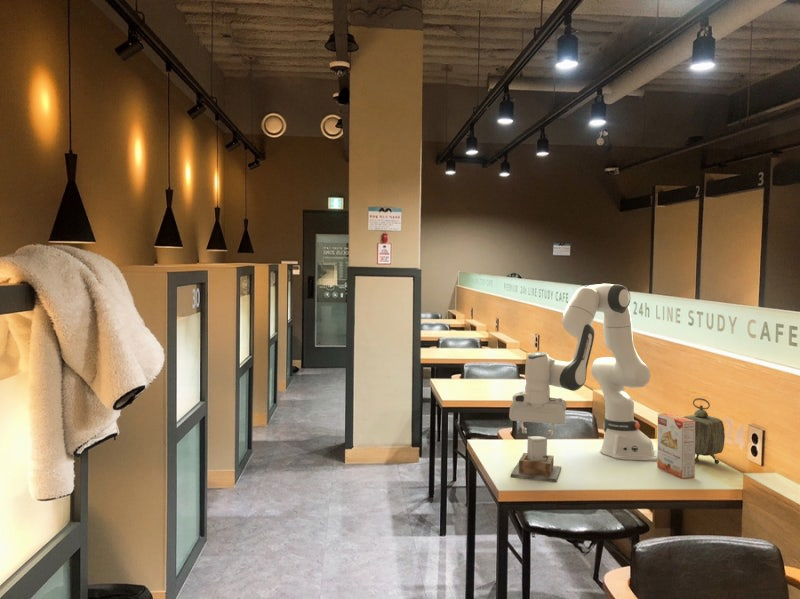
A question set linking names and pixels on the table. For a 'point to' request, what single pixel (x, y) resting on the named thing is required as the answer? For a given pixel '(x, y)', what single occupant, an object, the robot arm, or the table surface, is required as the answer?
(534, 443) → the skincare box
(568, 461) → the table surface
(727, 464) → the table surface
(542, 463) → the box holder
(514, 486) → the table surface
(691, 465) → the cracker box
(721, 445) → the tabletop clock
